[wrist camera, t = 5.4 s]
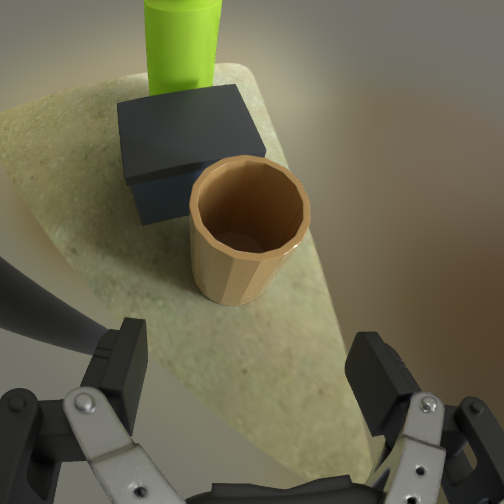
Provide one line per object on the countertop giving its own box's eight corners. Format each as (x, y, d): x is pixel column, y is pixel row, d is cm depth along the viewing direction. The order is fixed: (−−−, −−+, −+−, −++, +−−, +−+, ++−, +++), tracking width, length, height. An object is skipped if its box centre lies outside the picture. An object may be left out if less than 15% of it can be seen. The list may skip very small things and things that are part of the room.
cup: (204, 315, 23) (208, 275, 14) (183, 241, 25) (178, 166, 16) (281, 293, 24) (328, 243, 16) (256, 224, 26) (285, 148, 17)
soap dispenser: (153, 144, 28) (141, -71, 9) (151, 97, 30) (147, -82, 12) (215, 137, 29) (246, -73, 11) (206, 91, 31) (227, -84, 13)
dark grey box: (140, 228, 24) (124, 178, 18) (129, 159, 27) (116, 102, 20) (250, 204, 27) (267, 150, 20) (226, 140, 29) (235, 83, 23)
